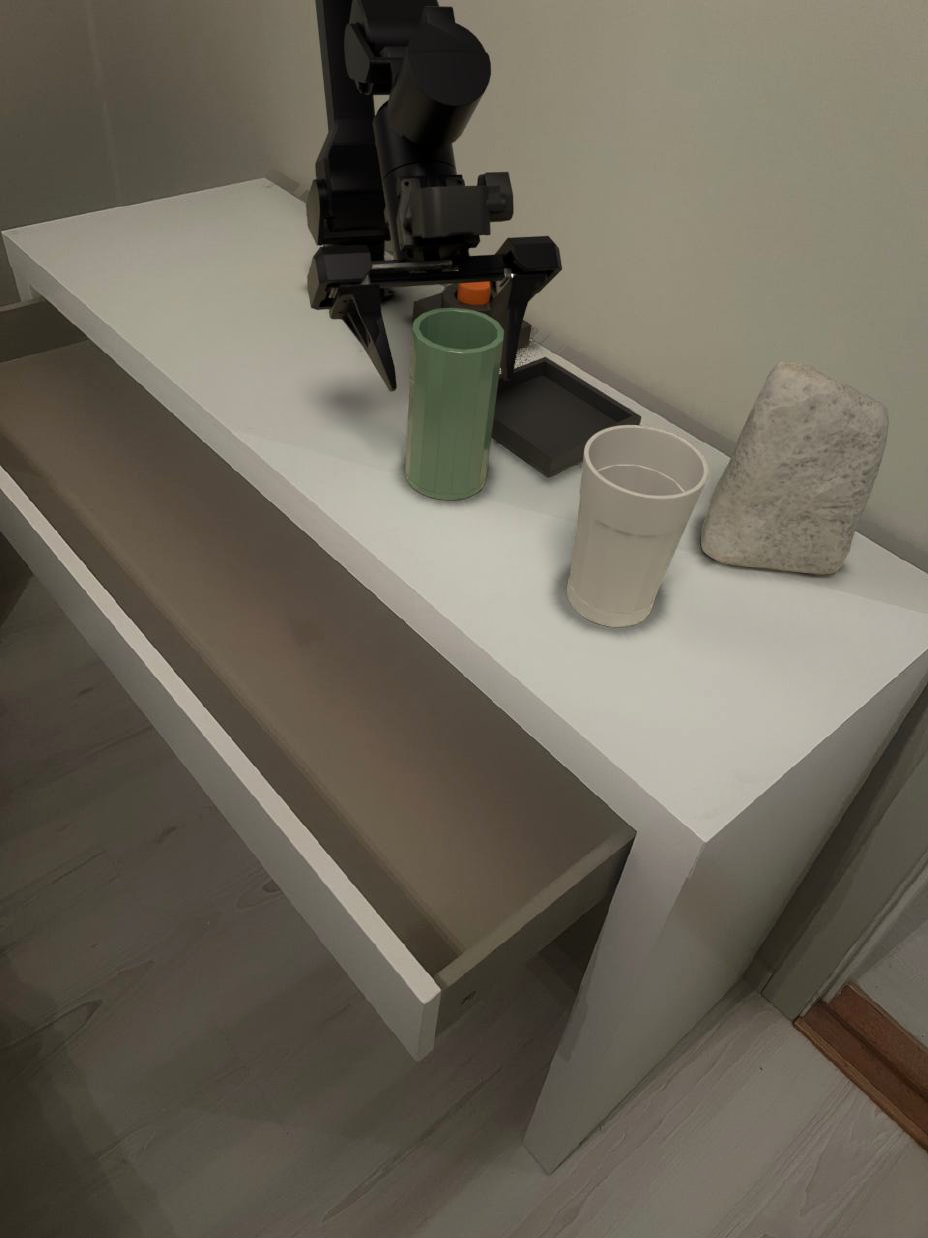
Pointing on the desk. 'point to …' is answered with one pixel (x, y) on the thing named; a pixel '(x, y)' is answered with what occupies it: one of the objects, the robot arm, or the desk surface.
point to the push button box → (451, 301)
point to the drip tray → (552, 415)
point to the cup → (630, 520)
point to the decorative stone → (797, 474)
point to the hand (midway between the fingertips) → (451, 384)
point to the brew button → (474, 293)
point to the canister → (452, 401)
